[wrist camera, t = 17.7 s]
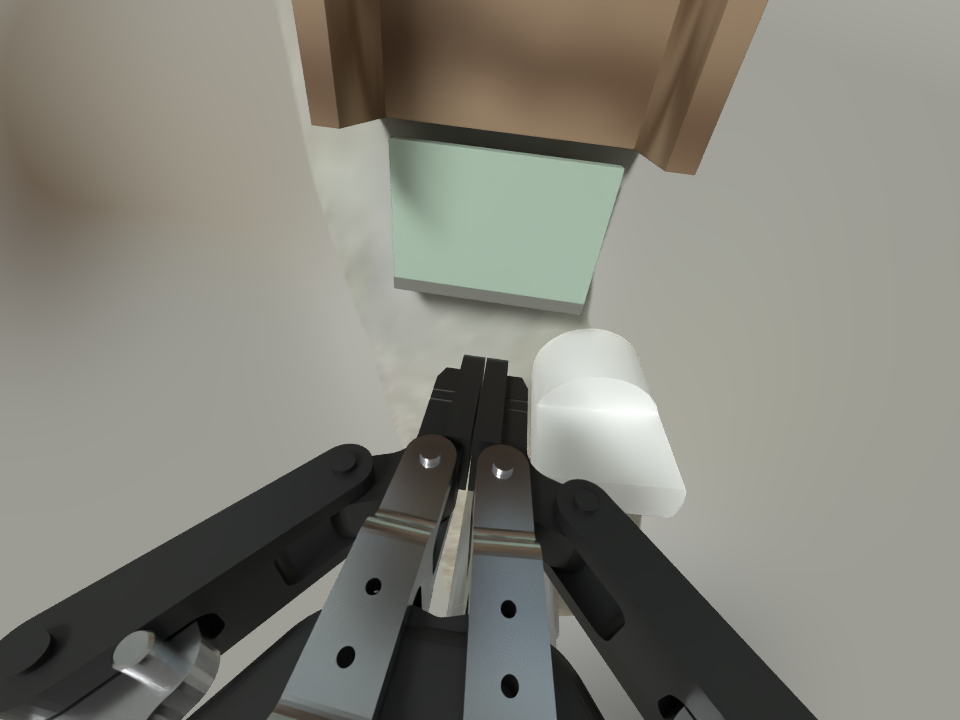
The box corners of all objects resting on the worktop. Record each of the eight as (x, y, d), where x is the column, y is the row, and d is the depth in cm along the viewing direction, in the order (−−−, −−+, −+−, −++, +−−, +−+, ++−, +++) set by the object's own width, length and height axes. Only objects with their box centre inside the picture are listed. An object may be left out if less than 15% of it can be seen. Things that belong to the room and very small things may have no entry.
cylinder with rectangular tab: (652, 331, 28) (710, 456, 19) (626, 412, 34) (661, 542, 24) (535, 325, 29) (535, 442, 20) (528, 405, 35) (525, 527, 25)
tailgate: (620, 165, 21) (578, 306, 26) (395, 135, 21) (400, 280, 26) (625, 168, 20) (580, 315, 25) (387, 137, 20) (394, 288, 25)
